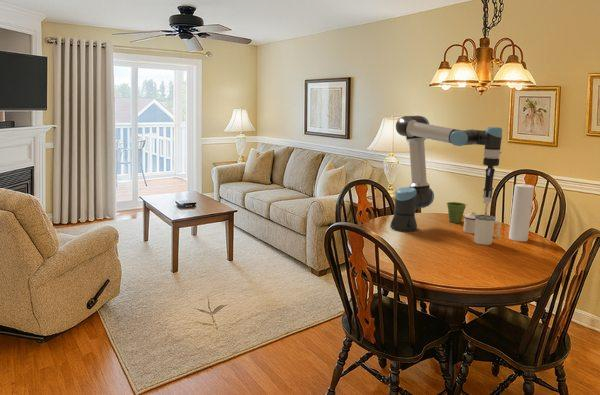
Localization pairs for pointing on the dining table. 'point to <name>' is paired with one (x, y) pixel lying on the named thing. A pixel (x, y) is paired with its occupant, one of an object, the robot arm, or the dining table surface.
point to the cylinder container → (521, 212)
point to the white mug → (485, 229)
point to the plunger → (487, 203)
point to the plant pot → (455, 211)
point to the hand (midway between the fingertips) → (486, 202)
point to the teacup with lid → (469, 223)
